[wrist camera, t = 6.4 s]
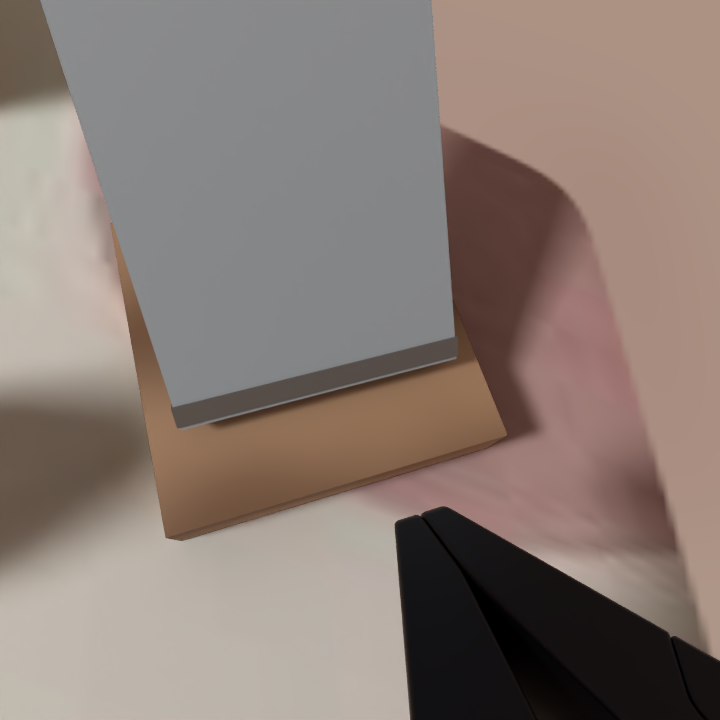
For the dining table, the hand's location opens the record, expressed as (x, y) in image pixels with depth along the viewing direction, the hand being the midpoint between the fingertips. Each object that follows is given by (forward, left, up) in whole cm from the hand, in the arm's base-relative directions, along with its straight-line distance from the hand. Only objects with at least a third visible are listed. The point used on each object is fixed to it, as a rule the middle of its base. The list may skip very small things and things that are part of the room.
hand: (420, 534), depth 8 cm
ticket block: (+6, -3, -8) cm, 11 cm away
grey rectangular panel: (+4, -2, -6) cm, 8 cm away
